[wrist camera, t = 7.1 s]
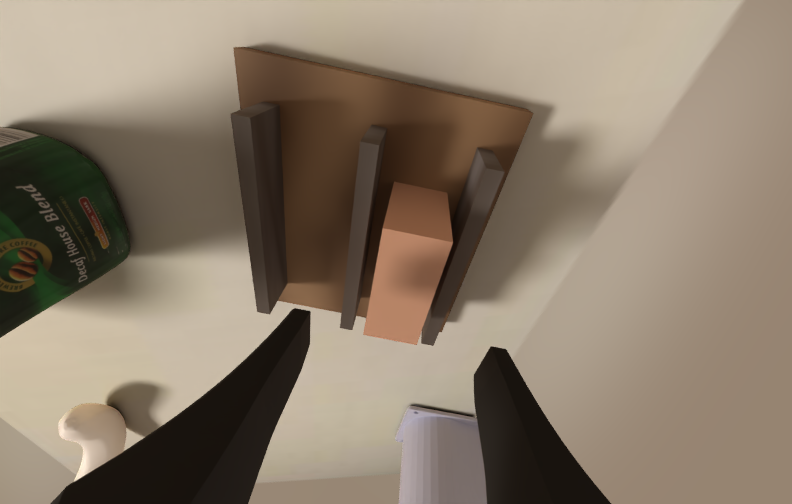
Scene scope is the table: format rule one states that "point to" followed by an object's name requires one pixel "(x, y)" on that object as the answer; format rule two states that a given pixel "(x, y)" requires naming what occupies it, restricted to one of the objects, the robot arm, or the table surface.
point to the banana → (94, 433)
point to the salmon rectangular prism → (409, 262)
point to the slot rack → (357, 176)
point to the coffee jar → (52, 225)
